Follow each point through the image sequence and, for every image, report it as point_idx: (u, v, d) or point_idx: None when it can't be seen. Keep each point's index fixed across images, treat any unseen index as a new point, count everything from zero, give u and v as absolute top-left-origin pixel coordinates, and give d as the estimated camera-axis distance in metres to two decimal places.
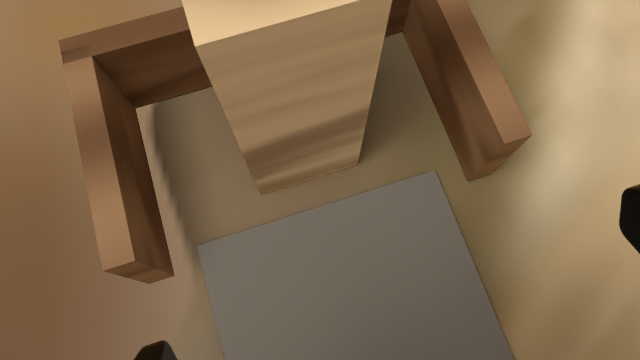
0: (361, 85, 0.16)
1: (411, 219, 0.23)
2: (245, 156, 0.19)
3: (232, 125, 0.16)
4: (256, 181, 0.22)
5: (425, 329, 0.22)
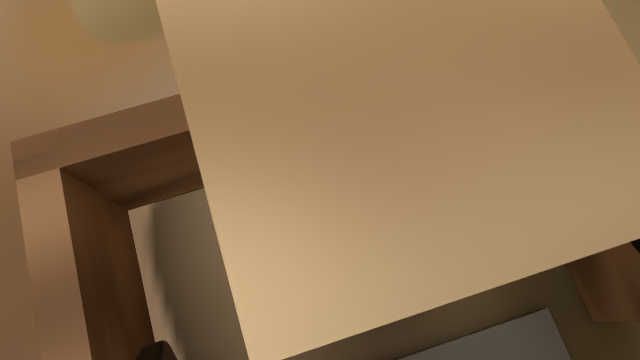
0: None
1: None
2: None
3: None
4: None
5: None
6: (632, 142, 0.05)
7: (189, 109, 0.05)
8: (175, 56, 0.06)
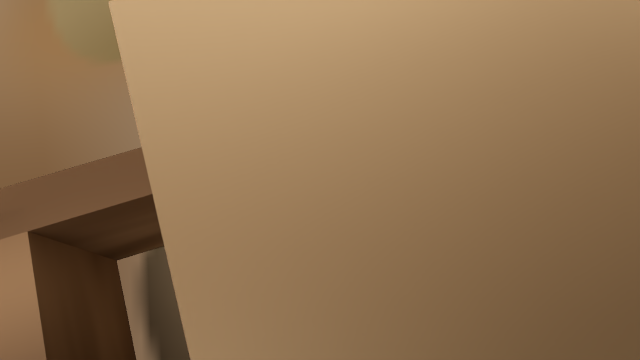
0: None
1: None
2: None
3: None
4: None
5: None
6: None
7: (192, 324, 0.03)
8: (165, 208, 0.03)
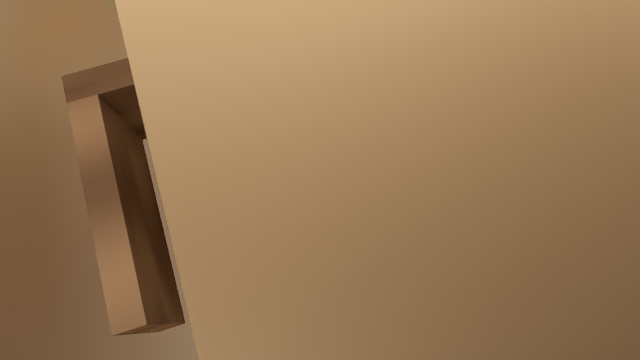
0: None
1: None
2: None
3: None
4: None
5: None
6: None
7: (198, 316, 0.03)
8: (171, 200, 0.03)
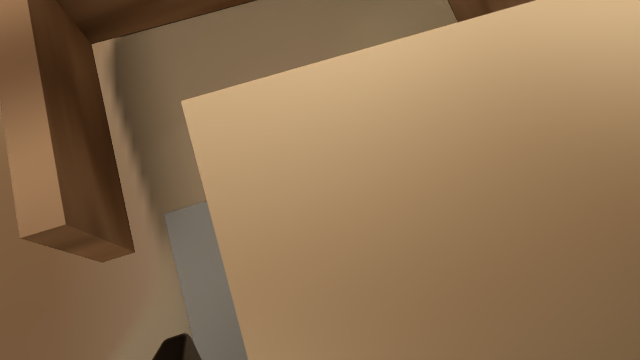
0: None
1: None
2: None
3: None
4: None
5: None
6: None
7: (247, 329, 0.04)
8: (226, 251, 0.04)
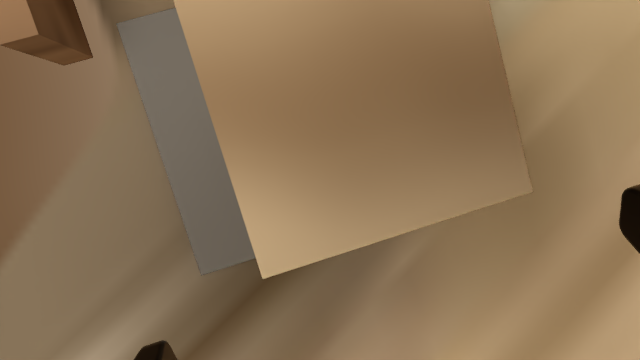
0: None
1: None
2: None
3: None
4: None
5: None
6: (493, 149, 0.09)
7: (215, 119, 0.08)
8: (202, 77, 0.08)
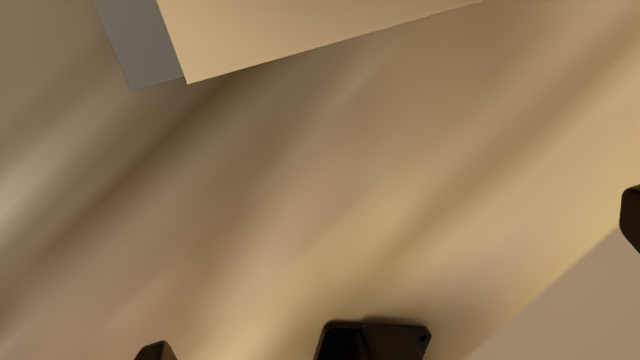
0: None
1: None
2: None
3: None
4: None
5: None
6: None
7: None
8: None
